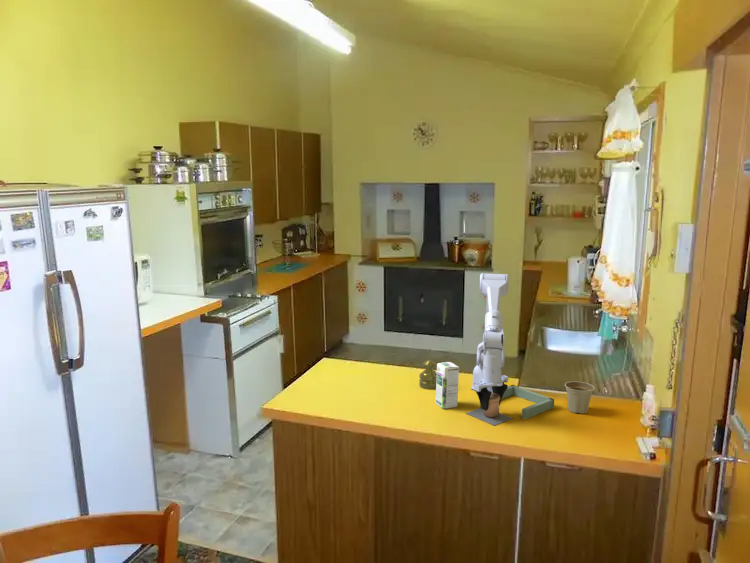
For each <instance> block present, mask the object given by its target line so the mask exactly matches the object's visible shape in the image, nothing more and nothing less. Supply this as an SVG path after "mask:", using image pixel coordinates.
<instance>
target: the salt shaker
mask: <svg viewBox="0 0 750 563" xmlns="http://www.w3.org/2000/svg"><path fill="white" fill-rule="evenodd" d="M422 365H423V366H424V367H425V369H424V370H423V371H422V372H420V373H419V381H418V382H419V387H420V388H422V389H426V390H436V379H437V371H436V370H434V368H435V367H437V363H436V362H435V360H432V359H427V360H425V361H423V362H422Z"/></svg>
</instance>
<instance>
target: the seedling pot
mask: <svg viewBox="0 0 750 563" xmlns="http://www.w3.org/2000/svg"><path fill="white" fill-rule="evenodd" d="M499 401H500V396H499V395H498V394H495V393H491V396H490V399H489V405H488V410H487V411H485V410H484V415H485V416H488V417H496V416H498V415H499V413H500V406H499Z"/></svg>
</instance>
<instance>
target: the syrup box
mask: <svg viewBox="0 0 750 563" xmlns="http://www.w3.org/2000/svg"><path fill="white" fill-rule="evenodd" d="M436 373H437V379H436V389H435V404H436V406H439V407H440V408H441V409H442V410H446V409H451V408H457V407H458V398H459V396H458V395H459V379H460V378H459V375H460V374H459V373H460V367H459V366H458V365H456V363H453V362H452V361H445V362H444V361H443V362H439V363H436Z"/></svg>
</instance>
